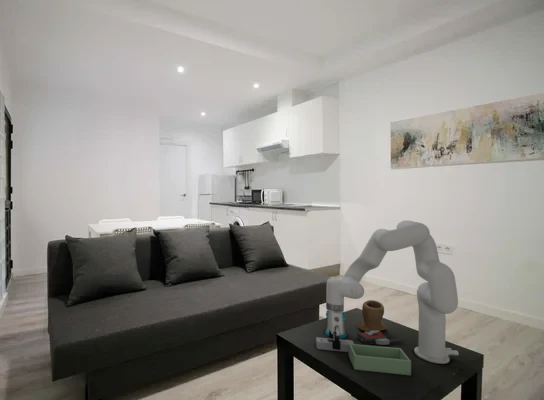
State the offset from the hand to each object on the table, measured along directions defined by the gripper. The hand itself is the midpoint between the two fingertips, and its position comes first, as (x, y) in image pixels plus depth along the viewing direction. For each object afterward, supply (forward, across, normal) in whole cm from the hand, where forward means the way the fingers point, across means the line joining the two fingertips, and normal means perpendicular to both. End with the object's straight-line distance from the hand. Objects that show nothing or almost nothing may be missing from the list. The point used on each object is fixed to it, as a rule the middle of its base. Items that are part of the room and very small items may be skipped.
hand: (334, 344), depth 135 cm
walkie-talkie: (+2, +11, -22) cm, 25 cm away
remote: (+2, 0, 0) cm, 2 cm away
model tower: (+2, +15, -3) cm, 15 cm away
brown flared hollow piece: (+2, +23, -23) cm, 33 cm away
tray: (+2, -11, -15) cm, 19 cm away
